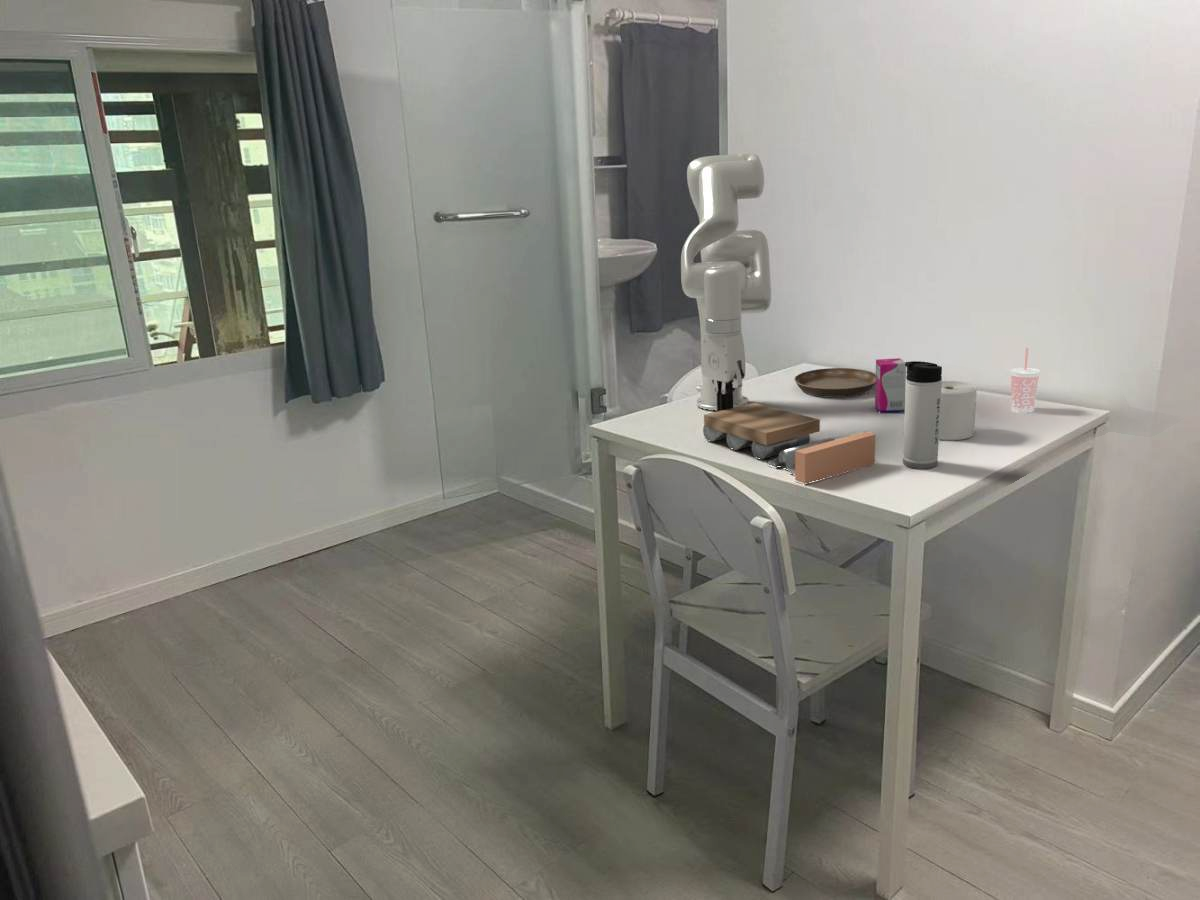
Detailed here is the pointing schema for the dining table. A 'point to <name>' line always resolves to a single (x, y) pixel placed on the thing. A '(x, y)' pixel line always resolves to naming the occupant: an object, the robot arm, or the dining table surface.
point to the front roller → (777, 446)
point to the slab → (762, 423)
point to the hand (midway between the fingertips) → (725, 409)
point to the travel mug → (922, 414)
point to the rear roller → (713, 434)
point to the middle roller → (738, 442)
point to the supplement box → (890, 385)
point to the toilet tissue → (957, 410)
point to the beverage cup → (1024, 387)
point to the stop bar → (835, 457)
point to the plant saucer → (836, 382)
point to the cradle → (776, 463)
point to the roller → (789, 454)
